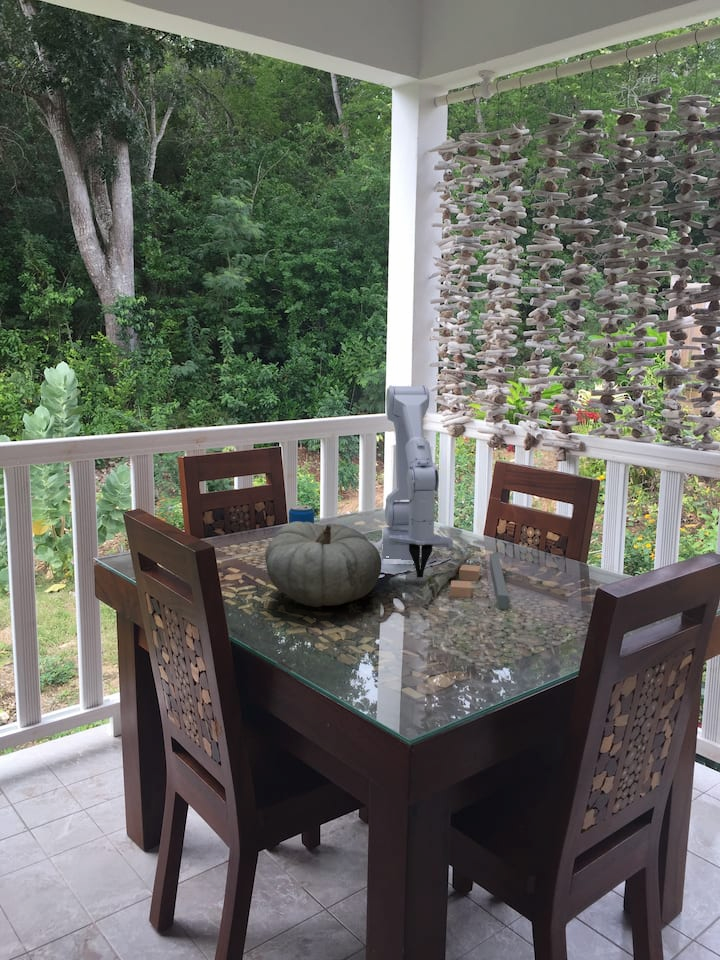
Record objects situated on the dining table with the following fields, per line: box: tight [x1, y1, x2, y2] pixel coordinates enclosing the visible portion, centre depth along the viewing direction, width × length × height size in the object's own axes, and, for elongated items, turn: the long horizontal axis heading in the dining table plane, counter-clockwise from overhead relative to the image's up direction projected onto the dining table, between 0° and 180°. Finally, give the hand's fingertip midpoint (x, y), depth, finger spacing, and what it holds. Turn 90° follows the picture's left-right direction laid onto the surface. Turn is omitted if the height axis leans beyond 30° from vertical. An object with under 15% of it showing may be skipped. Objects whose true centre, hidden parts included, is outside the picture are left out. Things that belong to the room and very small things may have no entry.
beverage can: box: [288, 504, 315, 524], centre depth 212 cm, size 6×6×12 cm
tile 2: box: [458, 564, 482, 582], centre depth 193 cm, size 4×4×2 cm
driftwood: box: [422, 549, 473, 605], centre depth 188 cm, size 37×2×5 cm, turn 157°
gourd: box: [264, 521, 383, 608], centre depth 175 cm, size 25×25×17 cm
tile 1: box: [449, 580, 473, 599], centre depth 181 cm, size 4×4×2 cm
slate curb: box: [489, 553, 509, 610], centre depth 187 cm, size 2×32×3 cm, turn 174°
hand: (419, 576), depth 189 cm, fingers closed
